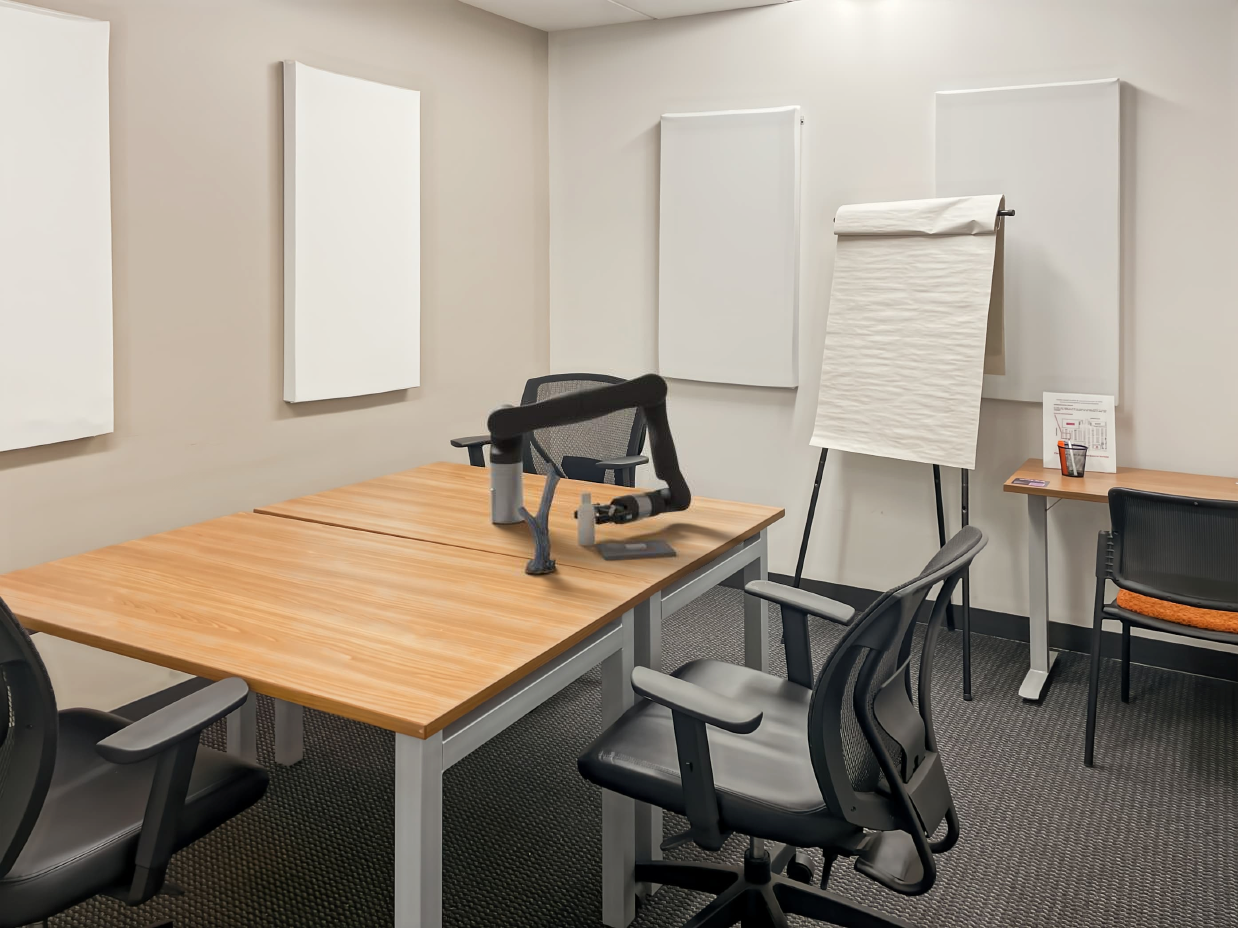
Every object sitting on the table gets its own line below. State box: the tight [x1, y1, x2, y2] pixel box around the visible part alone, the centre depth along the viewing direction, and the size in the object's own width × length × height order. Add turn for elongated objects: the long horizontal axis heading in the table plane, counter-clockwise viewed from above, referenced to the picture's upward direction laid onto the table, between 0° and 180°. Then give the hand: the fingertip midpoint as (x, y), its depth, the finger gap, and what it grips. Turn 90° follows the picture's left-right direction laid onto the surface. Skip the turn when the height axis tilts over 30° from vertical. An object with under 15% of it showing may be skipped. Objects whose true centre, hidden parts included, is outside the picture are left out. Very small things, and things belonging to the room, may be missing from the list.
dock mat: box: [596, 539, 677, 561], centre depth 245 cm, size 18×12×2 cm, turn 101°
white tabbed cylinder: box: [577, 492, 596, 547], centre depth 252 cm, size 4×4×14 cm
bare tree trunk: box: [518, 462, 561, 574], centre depth 229 cm, size 12×8×25 cm
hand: (585, 517), depth 252 cm, fingers open, 8 cm apart
